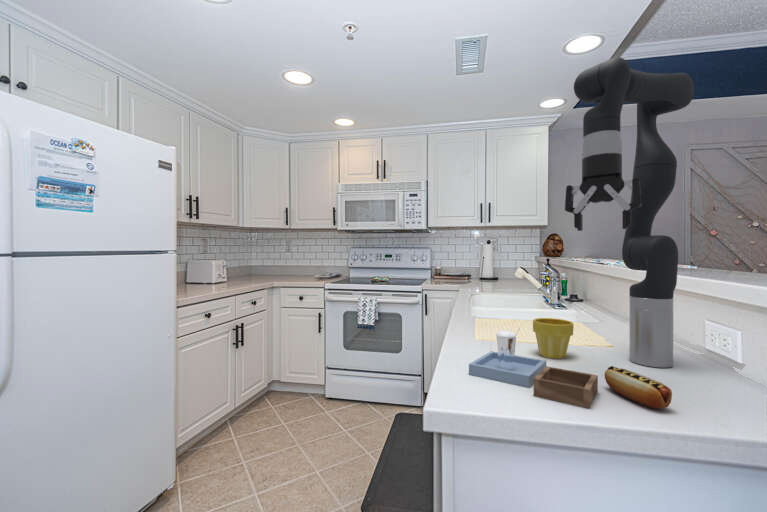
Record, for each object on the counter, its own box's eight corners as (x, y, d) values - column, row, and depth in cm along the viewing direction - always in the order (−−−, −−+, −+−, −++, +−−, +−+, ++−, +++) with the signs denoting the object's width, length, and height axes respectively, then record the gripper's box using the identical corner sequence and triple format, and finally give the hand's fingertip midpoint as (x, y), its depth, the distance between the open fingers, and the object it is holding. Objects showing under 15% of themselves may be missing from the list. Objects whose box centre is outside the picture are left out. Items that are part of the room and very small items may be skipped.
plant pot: (575, 353, 103) (575, 319, 103) (571, 363, 95) (571, 325, 95) (536, 348, 109) (536, 316, 109) (529, 357, 100) (529, 322, 100)
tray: (491, 360, 97) (491, 351, 97) (546, 370, 89) (546, 360, 89) (468, 374, 86) (468, 364, 86) (529, 387, 78) (529, 376, 78)
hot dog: (654, 415, 65) (654, 388, 64) (597, 388, 78) (597, 365, 78) (677, 413, 65) (677, 386, 65) (617, 386, 78) (618, 363, 78)
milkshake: (521, 372, 85) (520, 329, 85) (497, 370, 86) (497, 328, 86) (518, 366, 89) (518, 325, 89) (495, 364, 90) (495, 325, 90)
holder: (546, 381, 81) (546, 366, 81) (597, 392, 75) (597, 375, 75) (533, 395, 73) (533, 378, 73) (589, 408, 67) (589, 390, 67)
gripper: (642, 153, 78) (642, 229, 78) (569, 164, 87) (569, 231, 87) (640, 146, 72) (640, 227, 72) (562, 158, 81) (562, 230, 81)
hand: (601, 229), depth 79 cm, fingers open, 8 cm apart
